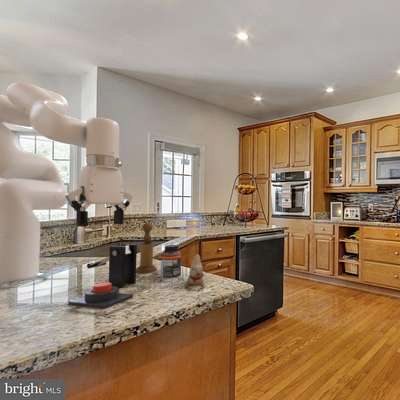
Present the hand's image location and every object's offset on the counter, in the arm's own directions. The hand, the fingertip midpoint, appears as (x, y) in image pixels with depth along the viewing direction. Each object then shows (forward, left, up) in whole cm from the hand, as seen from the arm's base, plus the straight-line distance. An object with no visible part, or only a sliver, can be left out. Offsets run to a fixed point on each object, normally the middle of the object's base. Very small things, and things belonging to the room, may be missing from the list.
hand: (101, 225), depth 78 cm
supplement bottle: (+10, +17, -19) cm, 27 cm away
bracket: (+4, +4, -19) cm, 19 cm away
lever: (0, +4, -11) cm, 11 cm away
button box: (+10, -8, -19) cm, 23 cm away
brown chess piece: (-2, +20, -19) cm, 27 cm away
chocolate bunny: (+22, +12, -19) cm, 31 cm away
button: (+10, -9, -15) cm, 20 cm away
